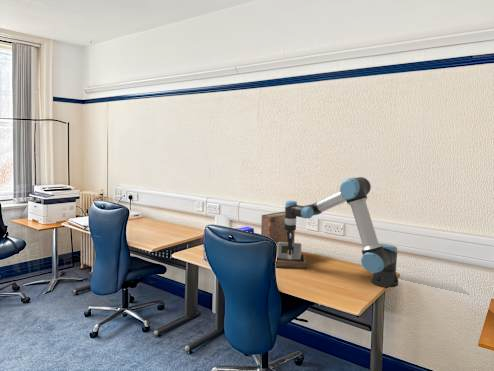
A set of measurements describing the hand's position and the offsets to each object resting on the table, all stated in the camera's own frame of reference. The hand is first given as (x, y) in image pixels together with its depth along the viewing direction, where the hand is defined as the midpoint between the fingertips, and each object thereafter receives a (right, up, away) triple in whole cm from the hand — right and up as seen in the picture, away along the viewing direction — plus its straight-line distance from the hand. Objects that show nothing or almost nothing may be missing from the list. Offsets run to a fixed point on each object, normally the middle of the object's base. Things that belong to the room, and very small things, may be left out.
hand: (289, 257), depth 254 cm
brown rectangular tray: (0, -4, +1) cm, 4 cm away
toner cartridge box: (-41, -2, +15) cm, 44 cm away
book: (-6, -2, +21) cm, 22 cm away
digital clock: (0, -1, 0) cm, 1 cm away
